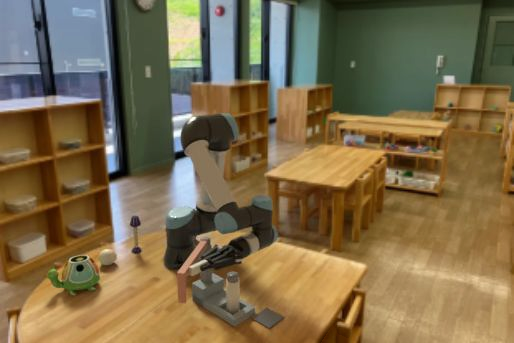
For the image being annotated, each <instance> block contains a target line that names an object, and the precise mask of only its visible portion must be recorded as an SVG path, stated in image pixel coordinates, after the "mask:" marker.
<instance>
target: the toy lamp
mask: <svg viewBox="0 0 514 343" xmlns="http://www.w3.org/2000/svg"><path fill="white" fill-rule="evenodd" d="M129 226H130V227H131V228H133V244H134V245H133V247H132V249H131V253H133V254H140V252H142V248H141V247H140V246H139V238H138V237H139V236H138V233H139V232H138V227H140V226H141V220H140V217H139V216H138V215H132V216H131V217H130V221H129Z"/></svg>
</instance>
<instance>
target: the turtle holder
mask: <svg viewBox="0 0 514 343" xmlns="http://www.w3.org/2000/svg"><path fill="white" fill-rule="evenodd" d="M100 272H101V271H100V269H99V266H98V264H97V262H96V261H95V260H94V259H93V258H92V257H90V256H89V255H88V254H79V255H75V256H72V257H70V258H69V260H67V262H66V263H65V264H64V266H63V268H62V271H61V276H60V279H59V272H58V270H57V269H56V268H52V269H50V270H49V271H48V272H47V275H46V278H47V279H49V280H50V283H51V284H52V286H53V287H54V288H57V289H65V290H68V293H69V295H70V296H76V295H77V293H76V292H75V291H79V290H85V289H86V290H87V291H89V292H92V291H96V287H94V286H95V285H96V284H97V283H99V281H100V280H101V276H100ZM60 280H61V281H60Z"/></svg>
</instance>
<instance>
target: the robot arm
mask: <svg viewBox="0 0 514 343" xmlns="http://www.w3.org/2000/svg"><path fill="white" fill-rule="evenodd" d="M186 120H187V121H185V123H184V124H183V125H182V129H181V131H180V145H181V148H182V150H183V153H184V155H185V156H187V157H189V158H190V161H191V163H192V164H193V167H194V169H195V171H196V173H197V175H198V177H199V179H200V181H201V188H200V189H201V190H200V197H199V199H197V200H196V204H195V208H192V207H191V206H186V205H185V206H178V207H174V208H172V209H171V210H169V211H168V212H167V214H166V215H165V233H166V248H165V252H164V255H163V264H164V266H165V267H166V268H168V269H171V270H175V271H176V270H177V271H179V270H180V268H181V267H182V265H183V264H184V263H185V261H186V260H187V259H188V257H189V256H190V255H191V253H192V252H193V251H194V249H195V248H196V247H197V245H196V243H195V238H194V237H195V236H197V237H198V236H201V235H204V234H208V233H211V232H216V231H218V233H220V234H221V235H227V234H232V233H236V232H238V231H241V230H245V229H248V228H251V230H250V231H249V232H246V233H244V234H241V235H239V236H237V237H235V238H233V239H231V240H230V241H229V243H228V244H224V245H222V246H219V244H218V243H217V244H214V245H213V247H211V249H210V250H209V251H207V252H206V253H204V254H203V255H202V256H201V261H200V259H199V260H198V261H197V263H195V264H194V265H191V266H189V274H188V276H190V277H193V276H196V275H199V274H200V272H202V271H205V270H207V269H212V270H214V271H218V270H221V269H225V268H228V267H231V266H234V265H241V264H242V261H243V259H246V258H247V257H250V256H252V255H253V254H255V253H257V252H259V251H261V250H263V249H266V248H268V247H270V246H272V245H273V244H274V243H275V242H277V240H278V239H279V232H278V231H277V227H276V226H274V225H273V214H274V213H273V212H274V206H273V205H274V204H273V198H271V197H270V196H268V195H264V194H263V195H262V194H261V195H255V196H254V197H252V198H251V204H248V205H245V206H241V207H239V205H238V204H237V201H236V200H235V197H234V195H233V194H232V191H231V190H230V188H229V185H228V184H227V182H226V180H225V178H224V172H225V171H224V170H225V164H226V155H227V152H229V151H230V150H231V145H232V143H234V142H235V141H236V140H238V138H239V127H238V123H237V122H236V119H235V118H234V116H232V115H231V114H229V113H221V112H220V113H214V114H204V115H195V116H192V117H190V118H189V119H186Z"/></svg>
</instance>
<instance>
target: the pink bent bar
mask: <svg viewBox="0 0 514 343" xmlns="http://www.w3.org/2000/svg"><path fill="white" fill-rule="evenodd" d="M199 239H200V241H199V243H198V244H197V245H196V248H195V249H194V251H193V252H192V253H191V255H190V256H189V257H188V259H187V260H186V261H185V263H184V264H183V265H182V267H181V268H180V270H177V272H176V276H177V277H176V278H177V279H176V280H177V300H178V304H186V303H187V277H188V276H189V266H191V265H194V264H195V263H197V261H198V260H199V261H200V257H201V256H202V254H203V253H204V251H205V250H206V248H207V247H210V246H211V247H212V244H211V237H209V236H202V237H200V238H199Z"/></svg>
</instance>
